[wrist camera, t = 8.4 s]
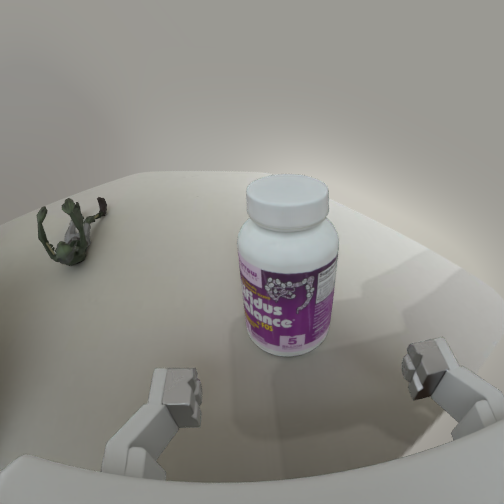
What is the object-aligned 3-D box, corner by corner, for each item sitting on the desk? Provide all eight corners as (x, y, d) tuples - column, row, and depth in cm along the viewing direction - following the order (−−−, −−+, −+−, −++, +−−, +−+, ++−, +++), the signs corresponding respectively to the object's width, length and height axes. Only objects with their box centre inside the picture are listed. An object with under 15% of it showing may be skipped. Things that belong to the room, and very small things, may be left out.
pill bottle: (231, 344, 20) (208, 200, 15) (268, 293, 24) (260, 164, 18) (312, 371, 17) (324, 219, 12) (339, 312, 21) (352, 176, 16)
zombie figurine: (97, 163, 35) (69, 214, 23) (109, 212, 39) (92, 281, 27) (59, 173, 34) (17, 228, 22) (72, 220, 38) (44, 291, 26)
